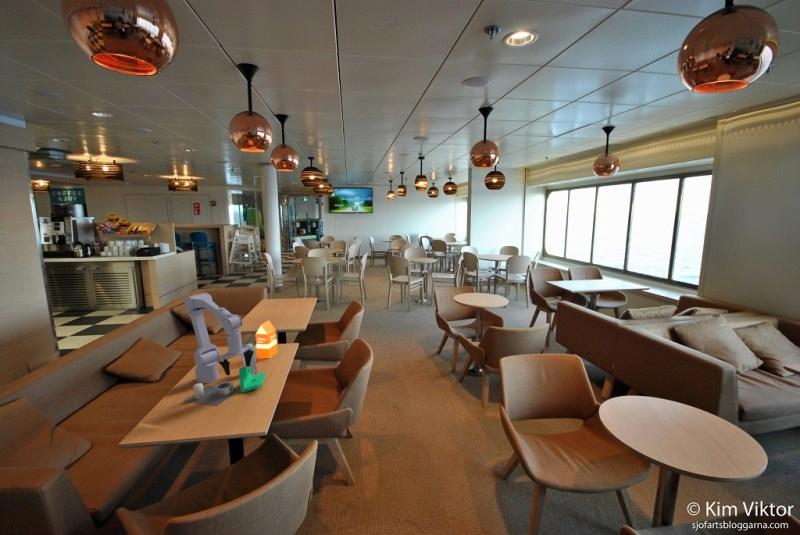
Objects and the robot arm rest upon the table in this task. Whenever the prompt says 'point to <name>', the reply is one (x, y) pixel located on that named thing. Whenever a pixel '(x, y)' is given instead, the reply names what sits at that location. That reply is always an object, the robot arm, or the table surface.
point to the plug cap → (198, 391)
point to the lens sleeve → (224, 389)
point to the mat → (209, 397)
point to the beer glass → (253, 360)
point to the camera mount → (250, 379)
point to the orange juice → (266, 340)
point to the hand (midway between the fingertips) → (238, 370)
